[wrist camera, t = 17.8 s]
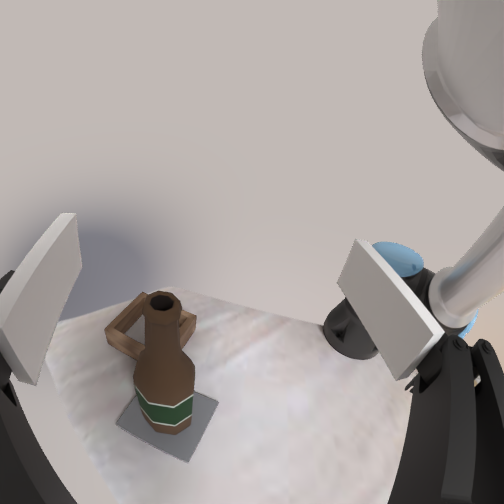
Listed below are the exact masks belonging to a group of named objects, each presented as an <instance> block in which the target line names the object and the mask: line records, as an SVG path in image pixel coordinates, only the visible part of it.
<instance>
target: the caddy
mask: <svg viewBox="0 0 504 504" xmlns="http://www.w3.org/2000/svg"><path fill="white" fill-rule="evenodd" d="M147 295H148V294H146V293H144V292H142V293H141V294H140V295H139V296H138V297H137V298H136V299H135V300H133V301H132V302H131V303H130V304H129V305H128V306H127V307H126V308H125V309H124V310H123V311H122V312H121V313H120V314H119V315H118V316H117V317H116V318H115V319H114V320H113V321H112V322H111V323H110V324H109V325H108V326H107V327H106V328H105V334H106V338H107V342H108V344H110V345H111V346H113V347H115V348H116V349H118V350H120V351H121V352H123V353H125V354H126V355H128V356H130V357H132V358H133V359H135V360H137V359H138V356H139V354H140V352H141V351H142V350H144V349H145V345H143V344H141V343H139V342H137V341H135V340H134V339H132V338H130V337H128V336H126V335H125V333H126V331H127V330H128V329H129V328H130V327H131V326H132V325H133V324H134V323H135V322H136V321H137V320H138V319H139V317H140V316H141V315H142V313H141V311H142V308H143V304H144V302H145V299H146V296H147ZM196 317H197V316H196V315H194V314H191V313H189V312H186V311H184V310H181V316H180V319H179V328H180V329H179V331H180V345H181V349H182V348H183V347H184V346H185V344H186V343H187V341H188V340H189V338H190V337H191V335H192V334H193V332H194V331H195V328H196Z"/></svg>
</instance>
